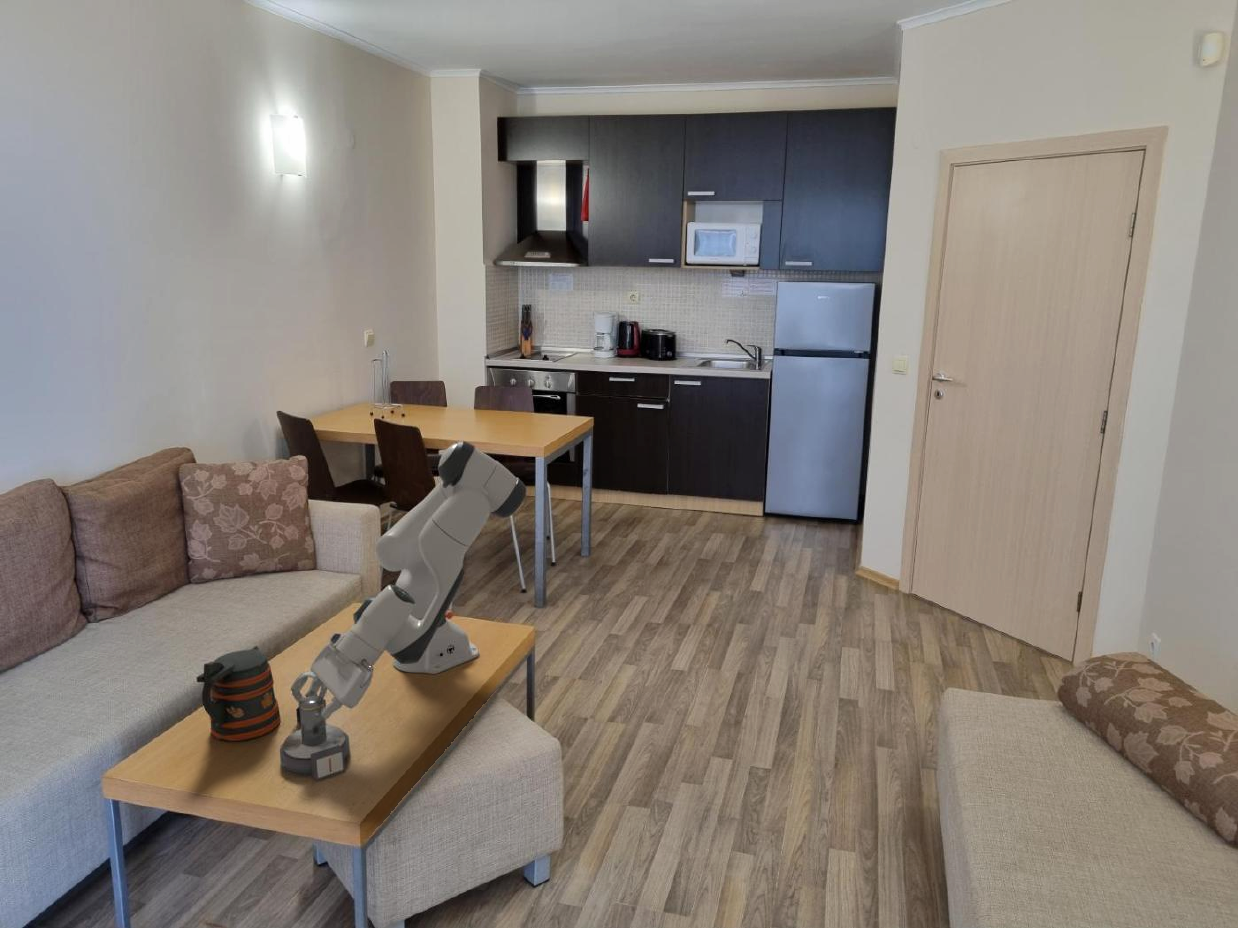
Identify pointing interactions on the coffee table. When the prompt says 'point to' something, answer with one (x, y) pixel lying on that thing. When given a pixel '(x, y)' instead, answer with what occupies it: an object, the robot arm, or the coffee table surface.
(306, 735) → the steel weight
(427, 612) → the robot arm
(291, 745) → the pan
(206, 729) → the coffee table surface
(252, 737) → the beer stein
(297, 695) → the watch
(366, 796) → the coffee table surface
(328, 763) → the scale
